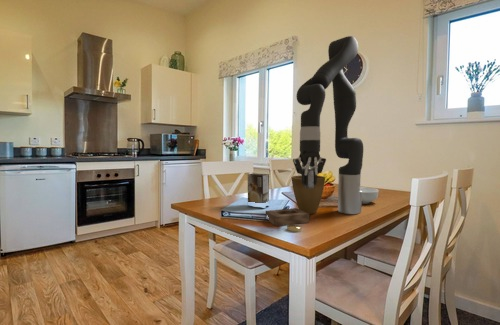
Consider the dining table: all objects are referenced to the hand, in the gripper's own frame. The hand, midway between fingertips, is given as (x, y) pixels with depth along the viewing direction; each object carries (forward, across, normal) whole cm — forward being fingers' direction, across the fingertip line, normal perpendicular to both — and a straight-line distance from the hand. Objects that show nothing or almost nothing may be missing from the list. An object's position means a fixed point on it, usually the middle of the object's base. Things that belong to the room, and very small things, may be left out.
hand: (309, 184), depth 104 cm
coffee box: (+15, +6, -34) cm, 38 cm away
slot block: (+15, +6, -7) cm, 18 cm away
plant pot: (+15, -11, -17) cm, 25 cm away
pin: (+1, 0, 0) cm, 1 cm away
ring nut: (+16, +9, +4) cm, 18 cm away
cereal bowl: (+15, -49, -24) cm, 56 cm away
